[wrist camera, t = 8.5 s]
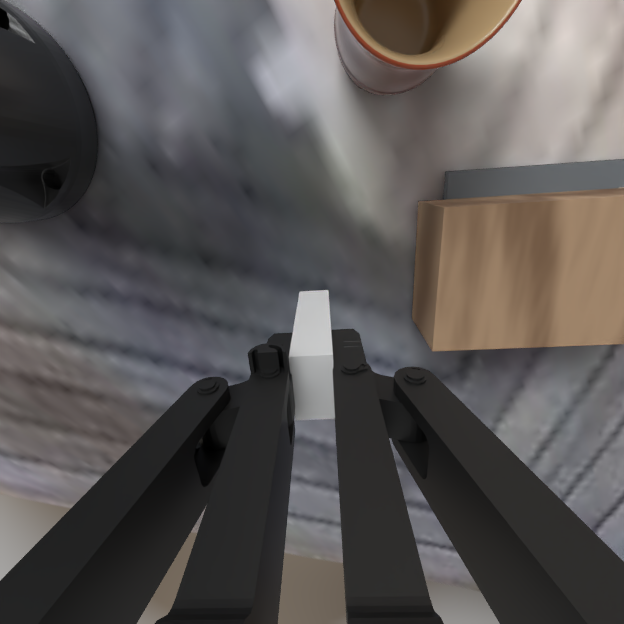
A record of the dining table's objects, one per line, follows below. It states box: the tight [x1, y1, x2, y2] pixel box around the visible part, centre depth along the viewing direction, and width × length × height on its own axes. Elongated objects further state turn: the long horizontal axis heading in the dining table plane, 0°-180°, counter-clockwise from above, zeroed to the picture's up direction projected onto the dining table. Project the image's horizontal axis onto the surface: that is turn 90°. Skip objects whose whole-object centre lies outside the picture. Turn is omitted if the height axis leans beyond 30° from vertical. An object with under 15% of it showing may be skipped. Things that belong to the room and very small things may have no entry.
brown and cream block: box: [412, 187, 624, 351], centre depth 24 cm, size 6×10×16 cm
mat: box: [443, 159, 624, 200], centre depth 27 cm, size 18×12×1 cm, turn 94°
